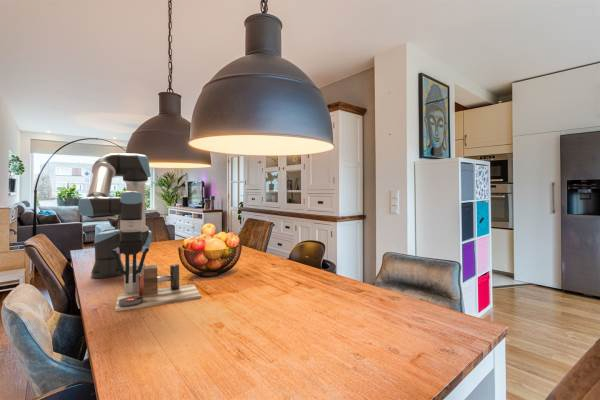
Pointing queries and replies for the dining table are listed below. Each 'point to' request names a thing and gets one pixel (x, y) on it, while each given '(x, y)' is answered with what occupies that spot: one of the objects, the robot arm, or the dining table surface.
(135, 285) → the beige solid cylinder
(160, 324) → the dining table surface
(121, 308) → the block
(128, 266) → the robot arm
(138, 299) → the handwheel
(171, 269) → the t-handle
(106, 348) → the dining table surface
